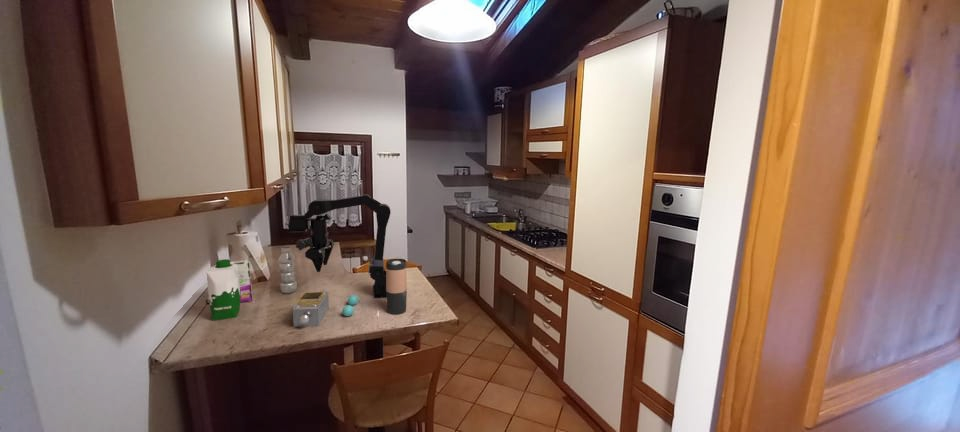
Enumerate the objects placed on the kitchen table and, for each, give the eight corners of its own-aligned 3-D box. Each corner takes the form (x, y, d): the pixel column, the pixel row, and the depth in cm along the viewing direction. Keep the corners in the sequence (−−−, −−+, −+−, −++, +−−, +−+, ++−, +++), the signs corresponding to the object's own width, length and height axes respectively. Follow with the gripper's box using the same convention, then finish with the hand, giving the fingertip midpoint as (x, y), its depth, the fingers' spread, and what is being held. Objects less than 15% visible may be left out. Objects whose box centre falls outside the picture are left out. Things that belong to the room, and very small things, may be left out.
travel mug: (400, 305, 136) (399, 257, 133) (410, 311, 131) (410, 261, 128) (383, 310, 131) (382, 260, 128) (393, 317, 125) (392, 265, 122)
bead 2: (359, 302, 137) (359, 293, 137) (357, 306, 134) (357, 296, 133) (349, 302, 137) (348, 293, 136) (347, 307, 133) (346, 297, 132)
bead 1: (354, 313, 128) (354, 303, 127) (353, 317, 124) (352, 307, 123) (343, 313, 127) (343, 303, 126) (341, 318, 123) (341, 308, 122)
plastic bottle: (301, 289, 149) (298, 245, 146) (291, 295, 142) (288, 249, 139) (287, 288, 150) (284, 245, 147) (276, 294, 143) (273, 248, 140)
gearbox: (328, 308, 131) (328, 288, 129) (316, 329, 115) (315, 305, 113) (306, 310, 129) (305, 289, 128) (291, 330, 113) (289, 307, 112)
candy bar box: (252, 296, 140) (249, 258, 138) (252, 300, 136) (249, 261, 134) (219, 301, 134) (215, 262, 132) (217, 306, 130) (213, 265, 128)
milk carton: (243, 308, 129) (238, 257, 126) (239, 318, 121) (234, 264, 118) (214, 312, 125) (209, 260, 122) (208, 322, 117) (203, 267, 114)
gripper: (305, 227, 143) (308, 262, 145) (288, 236, 124) (292, 277, 127) (333, 226, 144) (335, 261, 147) (320, 235, 126) (323, 275, 129)
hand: (321, 268), depth 137 cm, fingers open, 9 cm apart
